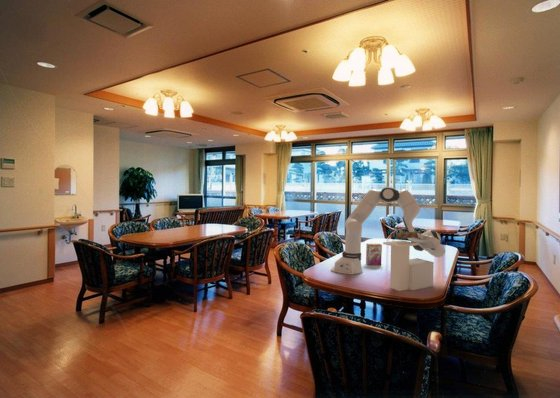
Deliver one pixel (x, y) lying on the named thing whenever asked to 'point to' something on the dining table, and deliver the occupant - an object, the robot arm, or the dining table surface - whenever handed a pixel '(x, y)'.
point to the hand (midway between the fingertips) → (414, 233)
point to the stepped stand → (408, 268)
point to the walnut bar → (407, 235)
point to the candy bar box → (373, 254)
